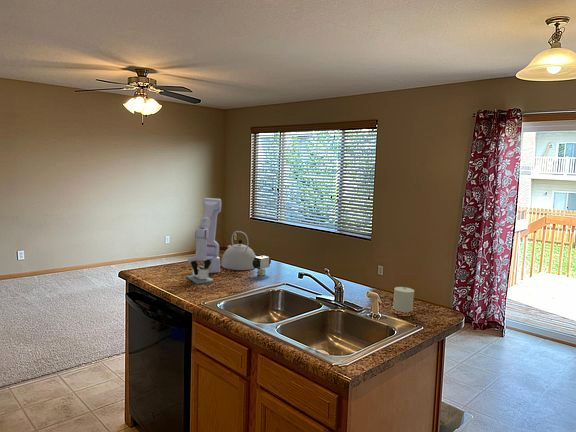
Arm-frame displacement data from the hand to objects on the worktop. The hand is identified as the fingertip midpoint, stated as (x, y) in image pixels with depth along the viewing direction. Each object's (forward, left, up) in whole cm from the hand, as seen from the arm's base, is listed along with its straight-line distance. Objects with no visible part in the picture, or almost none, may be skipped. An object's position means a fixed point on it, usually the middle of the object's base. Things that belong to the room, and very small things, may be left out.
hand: (200, 274), depth 240 cm
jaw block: (0, 0, -2) cm, 2 cm away
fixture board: (0, 0, -3) cm, 3 cm away
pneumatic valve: (-37, +3, -3) cm, 37 cm away
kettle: (-36, -24, -4) cm, 43 cm away
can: (-64, +89, -3) cm, 110 cm away
